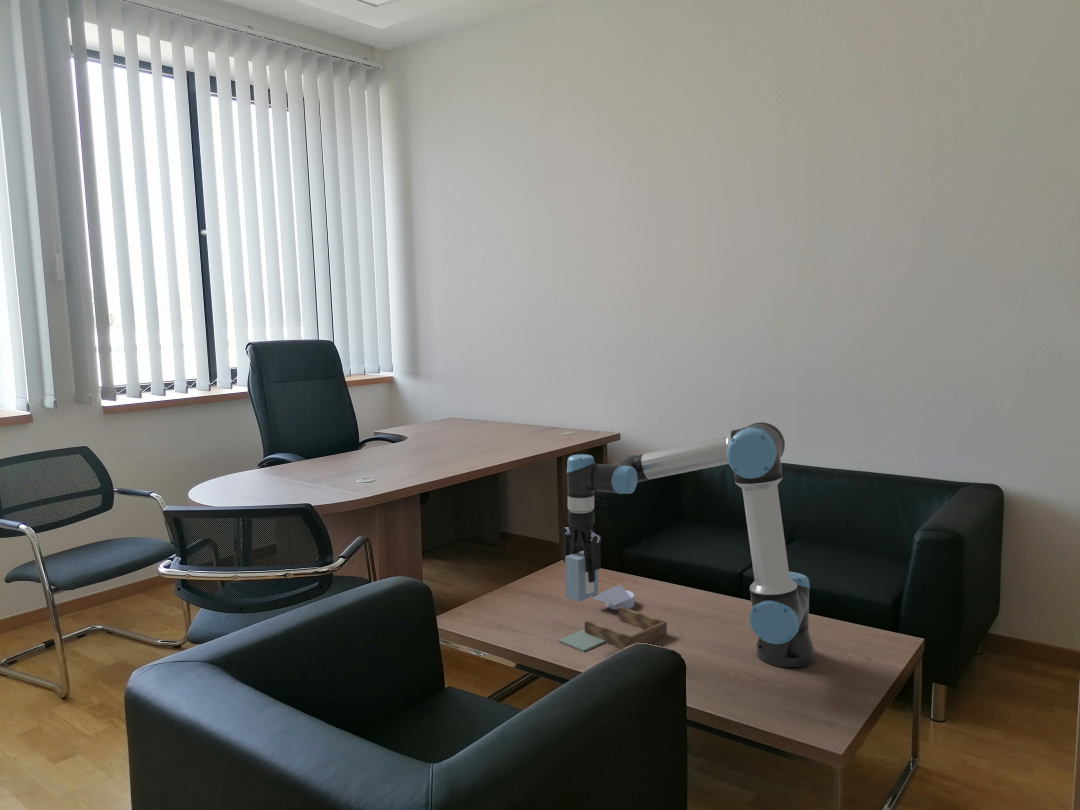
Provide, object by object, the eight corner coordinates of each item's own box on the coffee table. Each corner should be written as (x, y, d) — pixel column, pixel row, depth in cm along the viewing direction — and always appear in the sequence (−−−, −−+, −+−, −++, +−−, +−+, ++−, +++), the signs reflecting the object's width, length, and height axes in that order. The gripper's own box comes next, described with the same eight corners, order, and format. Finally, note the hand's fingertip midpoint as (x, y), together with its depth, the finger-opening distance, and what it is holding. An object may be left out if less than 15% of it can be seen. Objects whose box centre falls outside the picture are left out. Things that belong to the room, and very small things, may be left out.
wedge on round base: (614, 615, 245) (639, 604, 254) (614, 594, 244) (639, 583, 253) (592, 608, 251) (617, 597, 260) (592, 588, 250) (617, 577, 259)
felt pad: (607, 641, 226) (607, 639, 226) (583, 651, 219) (583, 650, 219) (582, 631, 233) (582, 629, 233) (558, 641, 226) (558, 639, 226)
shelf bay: (666, 635, 229) (666, 621, 229) (631, 652, 218) (630, 638, 218) (620, 619, 242) (620, 606, 241) (584, 634, 231) (584, 621, 230)
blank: (598, 594, 225) (597, 553, 224) (578, 601, 220) (578, 560, 218) (585, 590, 229) (584, 550, 228) (565, 597, 223) (565, 556, 222)
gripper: (614, 513, 218) (614, 594, 220) (567, 502, 231) (568, 579, 233) (595, 518, 212) (596, 601, 215) (549, 507, 225) (550, 585, 228)
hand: (582, 589), depth 224 cm, fingers closed on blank, 5 cm apart
